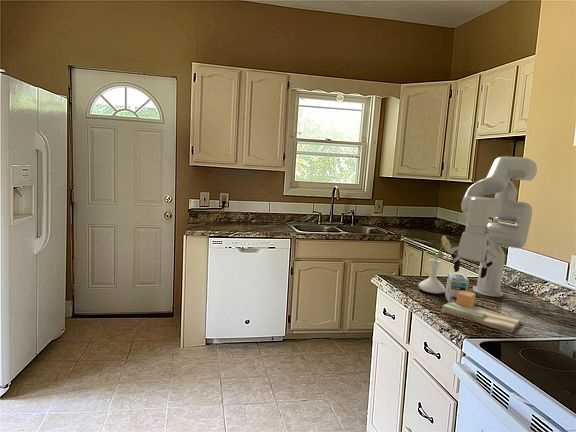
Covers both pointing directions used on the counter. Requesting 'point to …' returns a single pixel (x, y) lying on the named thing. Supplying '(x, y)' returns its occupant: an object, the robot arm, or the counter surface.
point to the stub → (466, 299)
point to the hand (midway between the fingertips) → (469, 274)
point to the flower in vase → (435, 272)
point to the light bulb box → (455, 285)
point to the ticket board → (482, 316)
